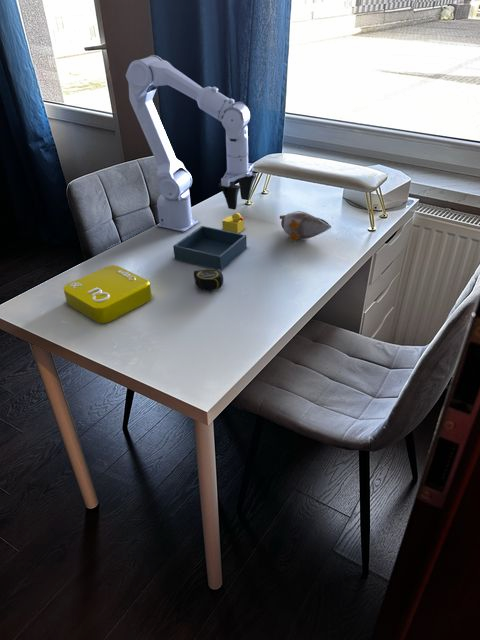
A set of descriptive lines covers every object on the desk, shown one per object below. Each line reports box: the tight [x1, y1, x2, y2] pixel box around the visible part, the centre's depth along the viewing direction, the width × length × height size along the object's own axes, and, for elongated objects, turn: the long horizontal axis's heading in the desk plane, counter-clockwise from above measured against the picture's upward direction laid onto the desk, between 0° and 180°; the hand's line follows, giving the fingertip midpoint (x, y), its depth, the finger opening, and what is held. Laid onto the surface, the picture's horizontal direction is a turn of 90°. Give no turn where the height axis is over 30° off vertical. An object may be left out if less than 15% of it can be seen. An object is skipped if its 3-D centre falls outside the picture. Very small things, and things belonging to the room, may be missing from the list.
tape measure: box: [193, 268, 224, 292], centre depth 121 cm, size 7×7×4 cm
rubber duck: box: [221, 212, 245, 234], centre depth 146 cm, size 6×4×5 cm, turn 64°
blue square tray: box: [172, 225, 248, 271], centre depth 135 cm, size 14×14×4 cm
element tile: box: [62, 264, 153, 325], centre depth 116 cm, size 15×15×5 cm
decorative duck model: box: [279, 210, 332, 243], centre depth 143 cm, size 15×8×15 cm
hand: (238, 203), depth 141 cm, fingers open, 7 cm apart
